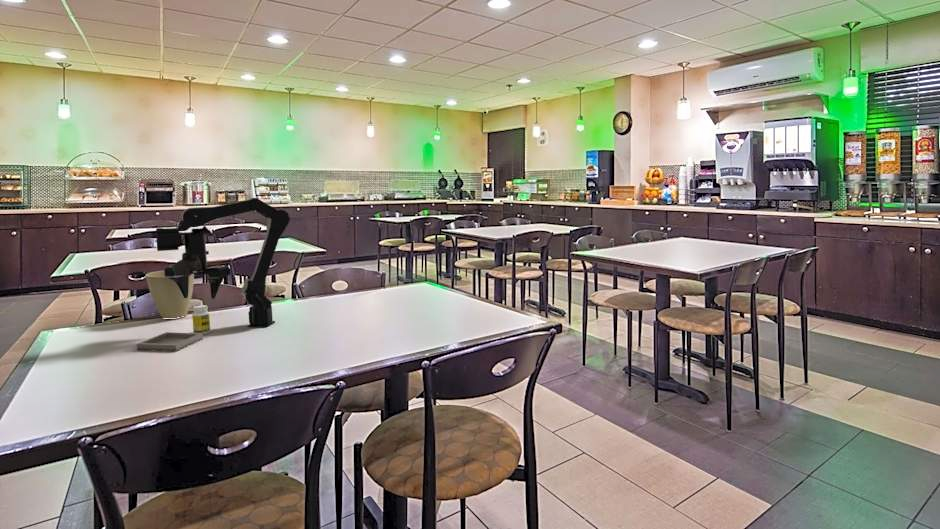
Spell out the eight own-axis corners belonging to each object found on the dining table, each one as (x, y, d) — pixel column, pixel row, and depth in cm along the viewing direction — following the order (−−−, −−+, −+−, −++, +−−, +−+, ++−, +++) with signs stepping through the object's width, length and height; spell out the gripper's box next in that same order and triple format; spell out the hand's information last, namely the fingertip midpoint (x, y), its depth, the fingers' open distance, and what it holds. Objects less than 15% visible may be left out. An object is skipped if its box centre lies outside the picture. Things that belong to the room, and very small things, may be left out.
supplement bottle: (203, 335, 166) (201, 308, 164) (190, 334, 167) (188, 308, 165) (213, 331, 170) (211, 305, 169) (200, 330, 171) (198, 304, 170)
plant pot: (143, 318, 187) (138, 273, 185) (187, 310, 198) (184, 268, 196) (159, 325, 178) (155, 278, 175) (205, 316, 189) (201, 272, 186)
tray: (203, 339, 161) (202, 333, 161) (176, 351, 149) (175, 345, 149) (166, 338, 162) (166, 332, 162) (137, 350, 151) (136, 343, 150)
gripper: (149, 251, 158) (154, 303, 160) (207, 252, 155) (211, 304, 158) (174, 247, 169) (178, 295, 171) (229, 247, 166) (233, 296, 169)
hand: (199, 298), depth 167 cm, fingers open, 9 cm apart
